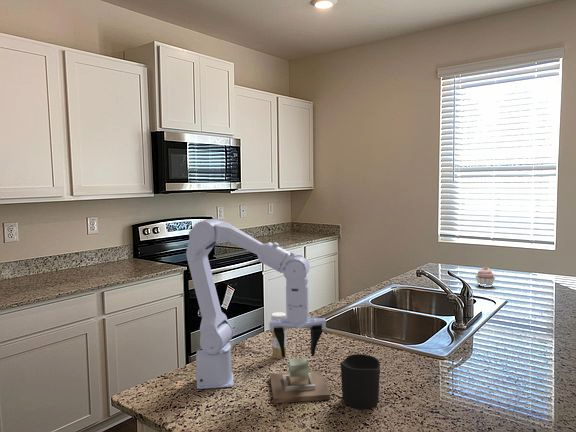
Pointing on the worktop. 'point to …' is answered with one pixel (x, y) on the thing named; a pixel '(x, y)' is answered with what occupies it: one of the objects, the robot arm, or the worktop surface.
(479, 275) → the cupcake
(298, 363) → the block stack
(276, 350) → the sprinkles bottle
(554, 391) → the worktop surface
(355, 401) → the pen holder
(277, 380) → the walnut board
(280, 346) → the robot arm
